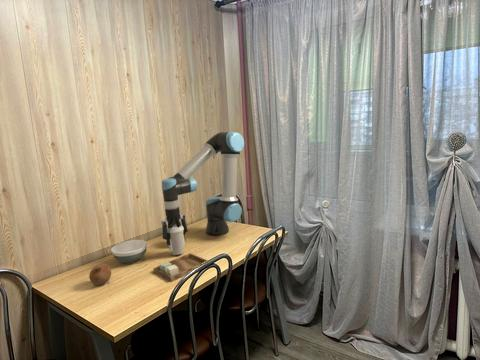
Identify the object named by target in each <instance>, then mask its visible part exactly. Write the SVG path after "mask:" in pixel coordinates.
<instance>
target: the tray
mask: <svg viewBox="0 0 480 360" xmlns="http://www.w3.org/2000/svg"><path fill="white" fill-rule="evenodd" d="M206 261H209V260H207V259H205V258H203V257H200V256H199V255H195V254H193V253H190V252H189V253H186V254H185V255H182V256H180V257H177V258H175V259H172V260H170V261H168V262H169V263H171V264H172V265H175V266H177V267H178V272H179V274H176V275H174V276H170V275H168V274H166V273H165V272H163V271H161V270H160V265H157V266H156V267H153V269H152V270H153V273H156V274H157V275H159V276H160V277H162V278H164V279H165V280H167V281H170V282H171V283H172V282H175V281H177V280H179V279H181V278H183V276H184V277H186V276H187V275H186V274H187V273H188V272H189V271H191V270H192V269H194V268H196V267H197V266H199V265H201V264H202V263H204V262H206ZM185 275H186V276H185Z"/></svg>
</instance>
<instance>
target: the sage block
mask: <svg viewBox="0 0 480 360" xmlns="http://www.w3.org/2000/svg"><path fill="white" fill-rule="evenodd" d="M159 266H160V270H161V271H163V272H165V273H166V274H167V267H169V266H172V264H171V263H169V261H164V262H162V263H160V264H159Z"/></svg>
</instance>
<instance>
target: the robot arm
mask: <svg viewBox="0 0 480 360" xmlns="http://www.w3.org/2000/svg"><path fill="white" fill-rule="evenodd" d="M244 146H245V140H244V137H243V136H242V134H241V133H239V132H236V131H228V132H227V131H226V132H224V131H221V132H218V133H216V134H214V135H213V136H212V137H211V138H209V139H208V140H207V141H206V142H205V143H204V144H203V147H202V148H201V149H200V150H199V151H198V152H197V153H196V154H195V155H194V156H193V157H191V159H190V160H189V161H187V163H185V165H184V166H182V168H180V169H179V171H177V172H176V173H175V174H174V175H173V176H169V177H167V178H166V179H165V178H164V179H163V180H162V181H161V191H162V196H163V197H162V198H163V203H164V209H165V210H164V212H165V217H166V218H165V220H162V221H161V225H162V226H161V227H162V239H163V240H164V241H166V245H167V247H168V250H169V251H171V252H172V251H173V247H172V240H171V239H170V237H171V236H170V233H167V227H168V228H169V229H171V228H172V227H173V225H175V224H177V226H178V227H180V226H181V224H182V226H183V227H184V230H183V240H184V239H185V234H186V232H187V233H188V231H189V230H188V226H187V222H186V215H185V214H181V210H180V207H179V206H180V202H179V196H180V195H185V194H189V193H193V192H196V191H197V190H198V182H197V180H196V179H195V178H193V176H194V175H195V173H197V171H199V170H200V169H201V168H202V167H203V166H204V165H205V164H206V163H207V161H209V160H210V159H211V158H212V156H214V157H215V156H216V155H217V154H218V153H220V155H221V156H222V181H221V182H222V186H221V188H222V189H221V196H215V197H211V198H207V199H206V200H205V207H206V210H205V211H206V218H207V222H206V227H205V234H206V235H207V236H210V237H211V236H212V237H219V236H223V235H225V234H226V235H227V234H228V233H229V232H230V228H229V225H228V223H234V222H237V221H238V220H239V218H240V217H241V215H242V210H243V209H242V206H241V205H240V204H239V198H238V197H237V181H238V180H237V179H238V178H237V177H238V176H237V175H238V171H237V170H238V158H239V156H240V154H241V151H242V150H243V149H244V148H245V147H244ZM185 246H186V241H185V240H184V247H185Z"/></svg>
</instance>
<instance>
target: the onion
mask: <svg viewBox="0 0 480 360" xmlns="http://www.w3.org/2000/svg"><path fill="white" fill-rule="evenodd" d="M111 275H112V269H111V268H110V266H108V265H107V264H98V265H95V266H94V267H93V268H92V269H91V271H90V272H89V276H88V277H89V281H90V282H91V283H92V284H93V285H95V286H103V285H105V284H106V283H107V282H108V281H109V280H110V279H111V277H112V276H111Z"/></svg>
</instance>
